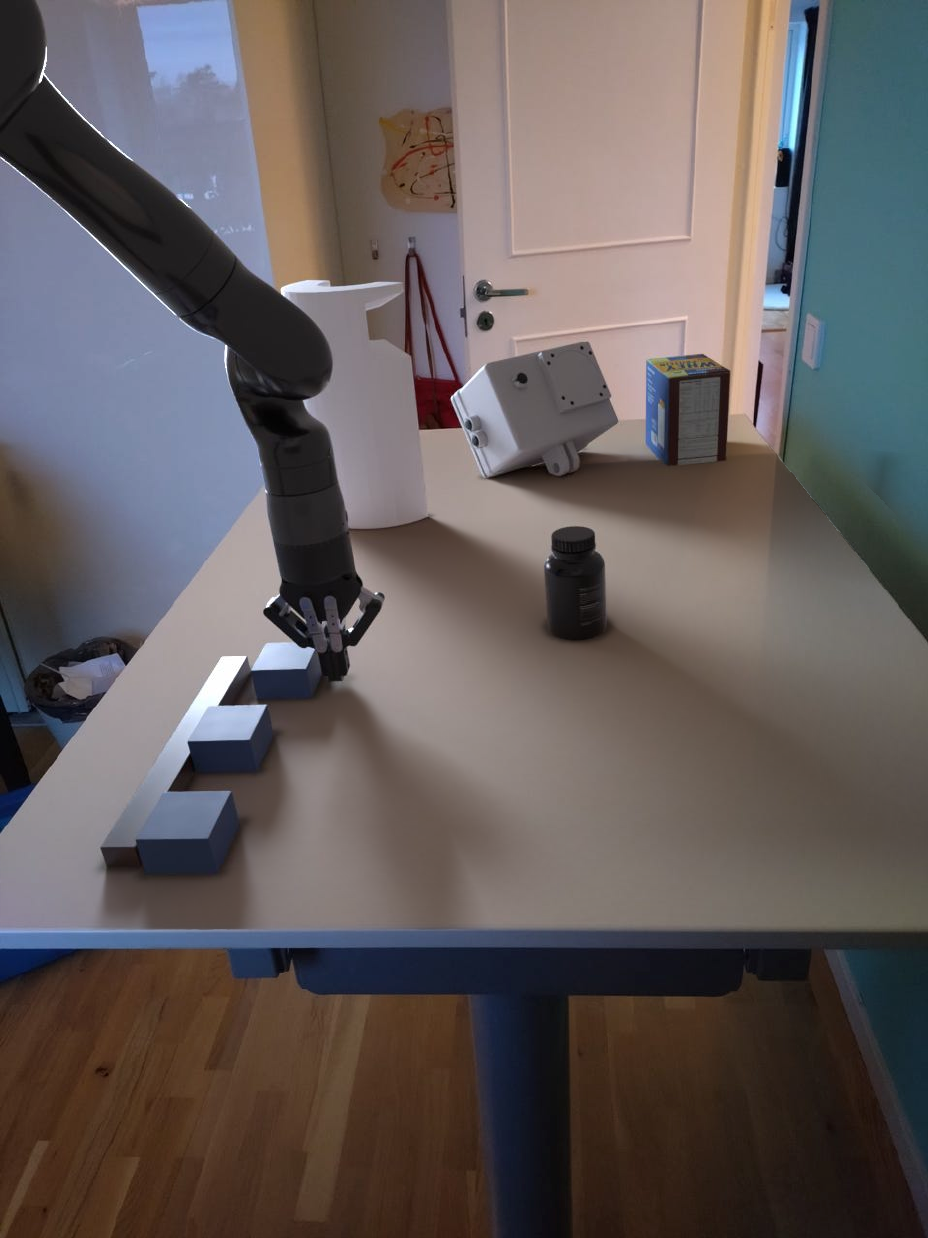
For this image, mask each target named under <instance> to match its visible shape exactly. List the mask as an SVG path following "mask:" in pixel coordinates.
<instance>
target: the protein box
mask: <svg viewBox="0 0 928 1238" xmlns="http://www.w3.org/2000/svg"><path fill="white" fill-rule="evenodd" d="M645 361H646V362H645V365H646V366H645V445H646V446H647V447H648V448H649V449H650V451H652V453H653V454H654V455H655V457H657V459H658V460H660V461H662V463H663V464H664V465H665V466H666V467H671V466H672V467H673V466H682V465H694V464H702V463H703V464H704V463H713V462H715V463H716V462H725V461H727V452H728V451H727V450H728V449H727V448H728V447H727V446H728V433H729V431H728V429H729V411H730V389H731V388H730V387H731V373H732V371H731V370H730V369H728V368H727V367H725V366H723V365H722V364H721V363H718V362H717V361H716V360H714V359H712V358H710V357H709V356H707V355H706V354H704V353H696V354H685V355H676V356H666V357H655V358H646V360H645Z"/></svg>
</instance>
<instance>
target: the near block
mask: <svg viewBox="0 0 928 1238" xmlns="http://www.w3.org/2000/svg"><path fill="white" fill-rule="evenodd" d="M240 824H241V823H240V818H239V815H238V811H237V807H236V803H235V800H234V795H233V792H232V790H209V791H208V790H205V791H203V790H201V791H184V792H163V794H162V796H161V797H160V799H159V801H158V802H157V804H156V806H155V807H154V809H153V811H152V812H151V814H150V816H149V817H148V819H147V821H146V823H145V824H144V826H143V828H142V829H141V831H140V833H139V834H138V836H137V838H136V839H135V841H136V844H137V847H138V850H139V853H140V856H141V859H142V862H143V865H142V866H143V868H144V872H145V874H146V875H172V874H173V875H174V874H175V875H176V874H177V875H179V874H180V875H181V874H182V875H183V874H191V875H193V874H194V875H195V874H197V875H199V874H200V875H201V874H218V873H219V871H220V869H221V867H222V864H223V863H224V860H225V858H226V856H227V854H228V851H229V849H230V848H231V846H232V845H231V844H232V842H233V840H234V839H235V836H236V833H237V831H238V829H239V827H240Z"/></svg>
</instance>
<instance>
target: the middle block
mask: <svg viewBox="0 0 928 1238" xmlns="http://www.w3.org/2000/svg"><path fill="white" fill-rule="evenodd" d="M274 736H275V733H274V728H273V723H272V718H271V714H270V710H269V706H268V704H250V705H248V704H242V705H241V704H240V705H239V704H238V705H232V706H209V707H208V708H207V710H206V711H205V713H204V715H203V716H202V718H201V720H200V721H199V723H198V725H197V726H196V728H195V730H194V731H193V733H192V735H191V736H190V738H189V740H188V741H187V743H188V746H189V750H190V754H191V757H192V761H193V765H194V769H195V772H194V773H196V774H198V773H199V774H201V773H203V774H204V773H205V774H206V773H248V772H249V773H250V772H258V771H259V769H260V766H261V764H262V762H263V760H264V758H265V755H266V754H267V751H268V749H269V747H270V745H271V742H272V740H273V738H274Z"/></svg>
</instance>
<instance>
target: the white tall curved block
mask: <svg viewBox="0 0 928 1238" xmlns="http://www.w3.org/2000/svg"><path fill="white" fill-rule="evenodd" d="M404 292H405V289H404V282H403V281H402V282H401V281H400V282H399V281H374V282H368V283H360V284H352V285H340V286H339V285H338V286H332V285H331V280H324V279H323V280H322V279H321V280H320V279H318V280H317V279H306V280H301V281H297V282H292V283H288V284H286V285H283V286H282V287H281V288H280V293H281V294H282V295H283V296H284V297H286V298H287V299H288V300H290V301H291V302H292V303H294V304H295V305H296V306H297V307H299V308H300V309H301V310H302V311H303V312H305V313H306V314H307V315H308V316H309V317H310V318H311V319H312V320H313V321H314V322H315V323H316V324H317V325H318V327H319V328H320V329H321V331H322V332H323V334H324V335H325V337H326V339H327V341H328V343H329V345H330V348H331V351H332V355H333V372H332V376H331V379H330V382H329V383H328V385H327V386H326V388H325V389H324V390H323V391H322V392H321V393H320V394H318V395H317V396H315V397H313V398H310V399H307V400H303V402H304V405H305V408H306V410H307V411H308V412H309V413H310V414H311V415H312V416H313V417H314V418H315V419H317V420H319V421H320V422H321V423H323V424H324V425H325V426H326V428H327V429H328V431H329V434H330V437H331V441H332V446H333V453H334V458H335V464H336V470H337V476H338V481H339V485H340V489H341V492H342V495H343V498H344V503H345V508H346V511H347V515H348V527H349V529H352V530H353V529H356V530H372V529H375V530H376V529H385V528H390V527H398V526H403V525H408V524H411V523H414V522H417V521H420V520H423V519H426V518H428V517H429V511H428V501H427V491H426V483H425V482H426V481H425V473H424V464H423V463H424V462H423V453H422V446H421V445H422V444H421V437H420V436H421V435H420V426H419V418H418V417H419V416H418V407H417V399H416V390H415V381H414V379H415V378H414V371H413V362H412V356H411V355H410V354H408V353H407V352H405V351H404V350H402V349H400V348H399V347H397V345H394V344H393V343H391V342H389V340H386V339H385V338H381V339H370V334H369V325H368V317H367V311H370V310H373V309H378V308H381V307H382V306H384V305H385V304H387V303H388V302H390V301H392V300H394V299H395V298H397V297H398V296H400V295H401V294H403V293H404Z"/></svg>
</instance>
